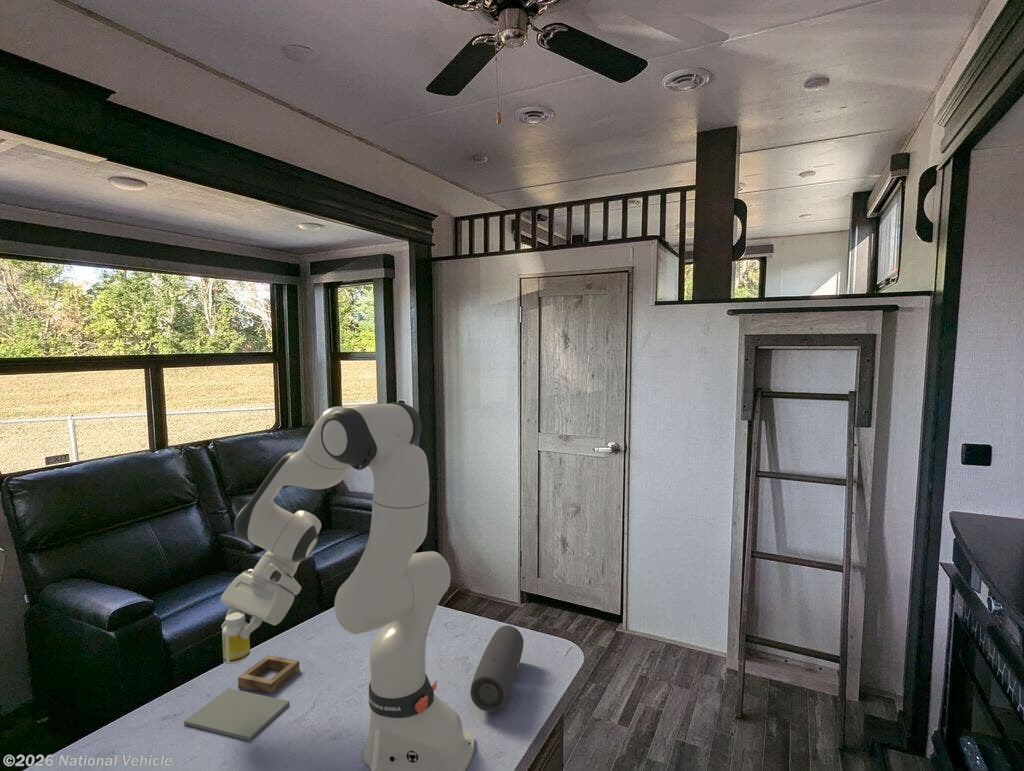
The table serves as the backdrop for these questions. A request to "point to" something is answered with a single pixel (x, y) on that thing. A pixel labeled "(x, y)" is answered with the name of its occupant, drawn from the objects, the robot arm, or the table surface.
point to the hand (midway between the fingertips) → (233, 633)
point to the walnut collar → (264, 684)
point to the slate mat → (237, 713)
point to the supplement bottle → (235, 639)
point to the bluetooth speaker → (497, 669)
